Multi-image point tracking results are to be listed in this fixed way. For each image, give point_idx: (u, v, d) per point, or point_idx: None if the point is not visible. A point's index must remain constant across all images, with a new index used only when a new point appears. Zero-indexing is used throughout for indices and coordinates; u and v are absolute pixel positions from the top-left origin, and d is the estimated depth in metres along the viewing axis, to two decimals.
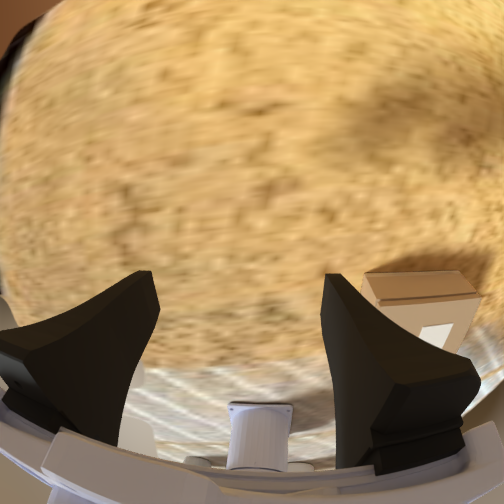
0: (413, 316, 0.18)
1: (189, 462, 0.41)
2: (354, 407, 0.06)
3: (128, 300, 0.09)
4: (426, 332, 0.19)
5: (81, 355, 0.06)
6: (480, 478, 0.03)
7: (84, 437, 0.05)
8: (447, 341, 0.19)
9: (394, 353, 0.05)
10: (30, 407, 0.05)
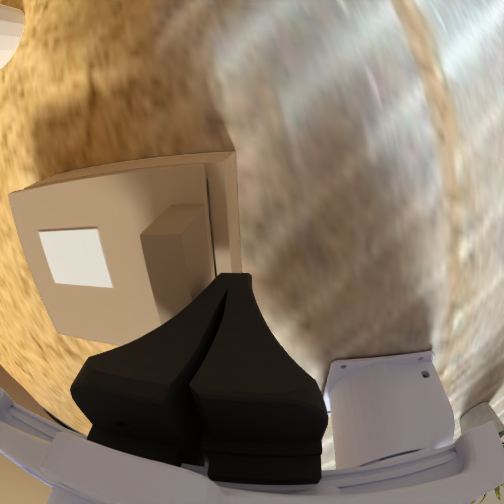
0: (51, 298, 0.14)
1: (461, 428, 0.25)
2: None
3: (225, 306, 0.09)
4: (58, 274, 0.13)
5: None
6: (480, 478, 0.03)
7: (84, 437, 0.05)
8: (63, 223, 0.12)
9: (231, 357, 0.06)
10: (137, 448, 0.05)
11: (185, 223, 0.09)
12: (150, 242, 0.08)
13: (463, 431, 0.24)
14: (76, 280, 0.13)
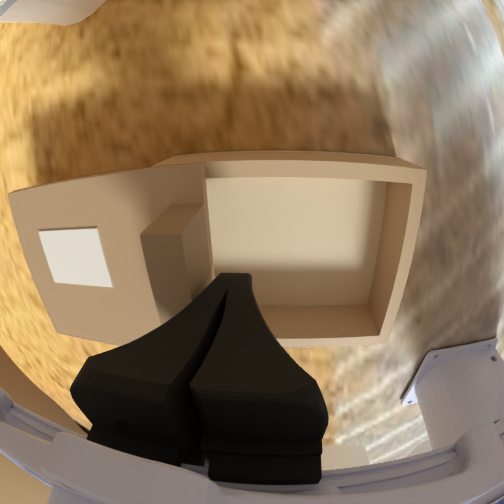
0: (50, 297, 0.14)
1: None
2: None
3: (225, 306, 0.09)
4: (58, 274, 0.13)
5: None
6: (480, 478, 0.03)
7: (84, 437, 0.05)
8: (63, 222, 0.12)
9: (231, 357, 0.06)
10: (137, 448, 0.05)
11: (185, 223, 0.09)
12: (150, 242, 0.08)
13: None
14: (75, 279, 0.13)
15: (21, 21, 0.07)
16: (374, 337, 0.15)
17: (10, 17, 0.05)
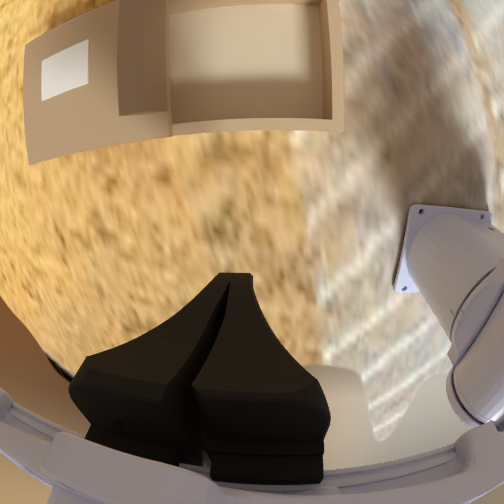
0: (33, 122, 0.14)
1: None
2: None
3: (223, 306, 0.09)
4: (47, 90, 0.13)
5: None
6: (480, 478, 0.03)
7: (84, 437, 0.05)
8: (64, 45, 0.11)
9: (234, 357, 0.06)
10: (135, 448, 0.05)
11: None
12: None
13: None
14: (59, 90, 0.13)
15: None
16: (327, 121, 0.14)
17: None
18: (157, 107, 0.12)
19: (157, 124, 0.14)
